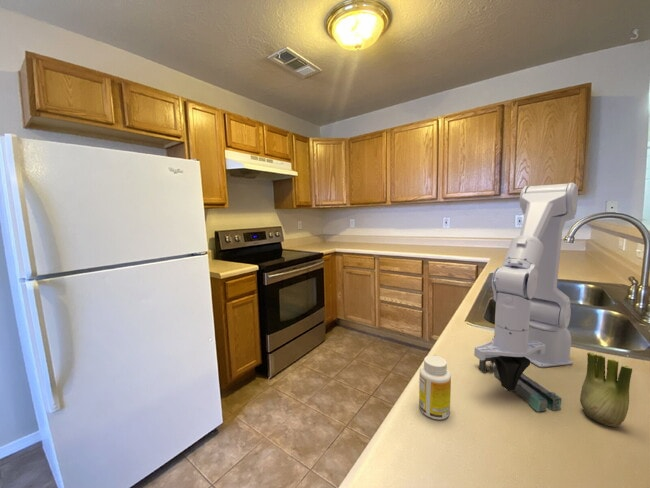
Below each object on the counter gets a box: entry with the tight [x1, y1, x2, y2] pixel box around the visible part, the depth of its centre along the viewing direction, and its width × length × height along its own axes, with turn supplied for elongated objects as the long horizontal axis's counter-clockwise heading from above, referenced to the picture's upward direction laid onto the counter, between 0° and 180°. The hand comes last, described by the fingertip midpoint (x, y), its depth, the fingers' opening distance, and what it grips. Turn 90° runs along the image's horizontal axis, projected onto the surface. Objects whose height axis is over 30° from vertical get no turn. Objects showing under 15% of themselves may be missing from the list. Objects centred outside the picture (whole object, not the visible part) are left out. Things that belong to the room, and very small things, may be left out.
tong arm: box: [493, 366, 547, 412], centre depth 58 cm, size 2×12×2 cm, turn 7°
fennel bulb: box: [579, 351, 633, 427], centre depth 50 cm, size 6×5×12 cm
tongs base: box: [489, 361, 562, 412], centre depth 60 cm, size 4×15×2 cm, turn 8°
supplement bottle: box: [418, 355, 452, 420], centre depth 53 cm, size 6×6×10 cm
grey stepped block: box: [478, 357, 493, 373], centre depth 67 cm, size 7×3×4 cm, turn 98°
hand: (507, 387), depth 58 cm, fingers closed
